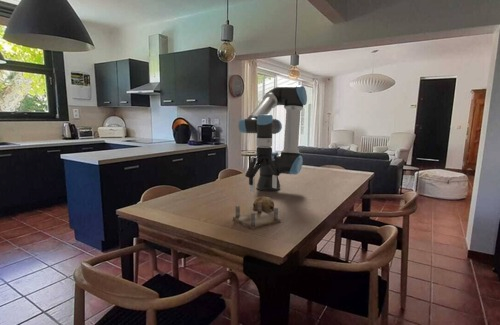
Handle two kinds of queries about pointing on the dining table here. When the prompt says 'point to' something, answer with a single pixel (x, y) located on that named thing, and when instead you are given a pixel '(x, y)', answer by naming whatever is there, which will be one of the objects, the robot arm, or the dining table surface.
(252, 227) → the trivet
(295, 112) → the robot arm
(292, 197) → the dining table surface
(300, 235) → the dining table surface
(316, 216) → the dining table surface
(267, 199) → the bread roll
